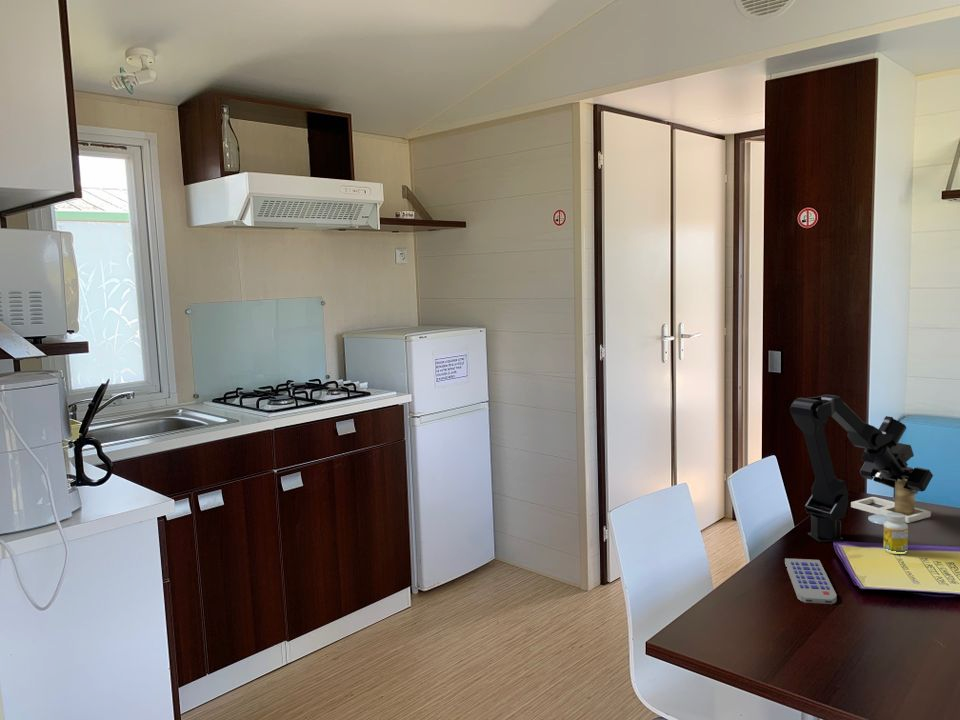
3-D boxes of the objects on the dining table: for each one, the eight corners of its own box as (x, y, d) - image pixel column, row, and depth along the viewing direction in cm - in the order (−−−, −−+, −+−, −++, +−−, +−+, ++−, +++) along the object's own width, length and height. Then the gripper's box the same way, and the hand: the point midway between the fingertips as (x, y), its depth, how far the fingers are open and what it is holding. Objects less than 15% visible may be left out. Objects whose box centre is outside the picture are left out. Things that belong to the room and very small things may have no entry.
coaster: (881, 527, 206) (881, 525, 206) (861, 517, 215) (861, 515, 215) (911, 524, 207) (911, 523, 207) (890, 514, 216) (890, 513, 216)
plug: (902, 519, 212) (902, 471, 210) (890, 513, 217) (891, 466, 215) (918, 517, 212) (919, 469, 211) (906, 512, 217) (907, 465, 216)
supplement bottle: (909, 556, 185) (910, 518, 184) (885, 554, 187) (885, 517, 186) (905, 548, 190) (905, 512, 189) (881, 546, 192) (882, 510, 191)
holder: (908, 523, 208) (908, 517, 208) (851, 507, 224) (851, 502, 224) (930, 516, 212) (930, 511, 212) (873, 501, 229) (873, 496, 228)
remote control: (819, 567, 182) (819, 558, 182) (838, 606, 160) (838, 596, 160) (784, 565, 184) (784, 557, 184) (798, 603, 162) (798, 594, 162)
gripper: (929, 441, 202) (953, 474, 208) (866, 430, 218) (890, 461, 224) (910, 474, 199) (935, 507, 205) (848, 461, 216) (873, 491, 222)
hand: (908, 490), depth 214 cm, fingers closed on plug, 5 cm apart
